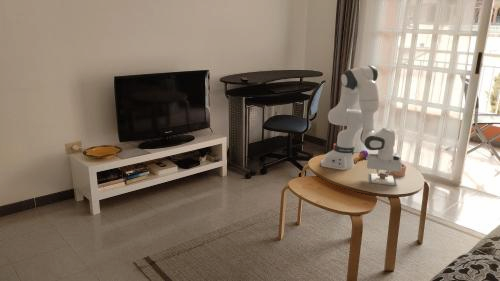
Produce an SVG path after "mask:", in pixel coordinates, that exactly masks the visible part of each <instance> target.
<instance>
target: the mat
mask: <svg viewBox="0 0 500 281" xmlns="http://www.w3.org/2000/svg"><path fill="white" fill-rule="evenodd" d="M393 179H394V185H388V184H379V183H371V173H368V184H372V185H379V186H388V187H389V186H390V187H398V185H397V180H396V176H393Z"/></svg>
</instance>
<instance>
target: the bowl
mask: <svg viewBox="0 0 500 281" xmlns="http://www.w3.org/2000/svg"><path fill="white" fill-rule="evenodd" d="M406 170H407V165H406V164H404V163H402V170H401V171H400V172H397V171H391V173H390V174H389V175H392V176H393V177H404V176H405V175H406V172H407V171H406ZM387 173H388V171H387V170H386V174H387Z"/></svg>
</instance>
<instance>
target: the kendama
mask: <svg viewBox="0 0 500 281" xmlns="http://www.w3.org/2000/svg"><path fill="white" fill-rule="evenodd" d="M367 155H369V152H368V151H367V150H365V149H364V150H361V151H359V155H358V157H355V158H353V161H354V165H355V164H356V163H357V162H358V161H359V160H360V159H363V160H365V159H367Z"/></svg>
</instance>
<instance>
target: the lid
mask: <svg viewBox="0 0 500 281" xmlns="http://www.w3.org/2000/svg"><path fill="white" fill-rule="evenodd" d="M379 173H380V176H378V173H370V174H371V183H379V184H388V185H394V179H393V177H394V176H392V175H388V177H385V176H386V174H387V172H384V171H383V172H382V171H381V172H379ZM371 183H370V184H371ZM379 184H378V185H379ZM388 185H387V186H388Z"/></svg>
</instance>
